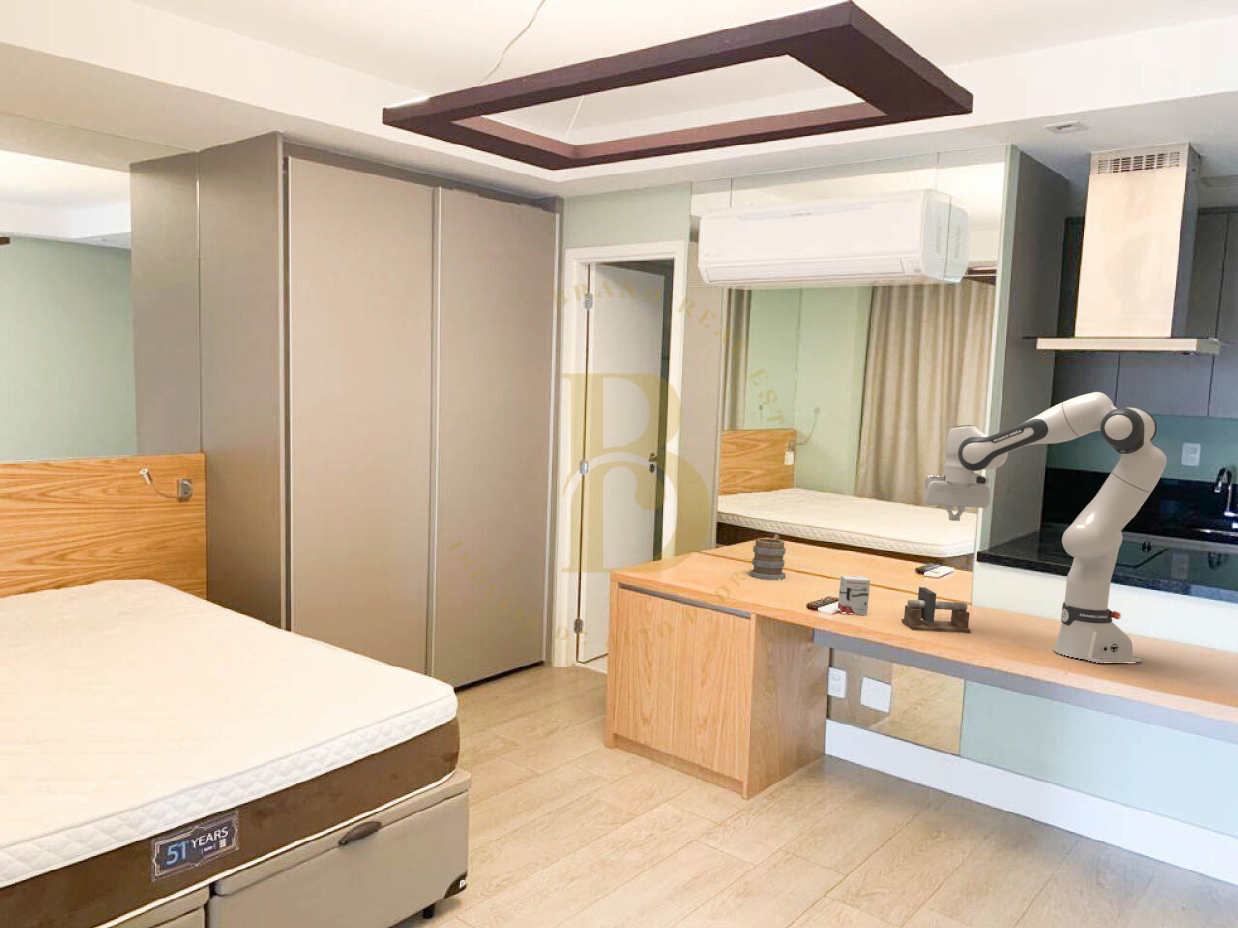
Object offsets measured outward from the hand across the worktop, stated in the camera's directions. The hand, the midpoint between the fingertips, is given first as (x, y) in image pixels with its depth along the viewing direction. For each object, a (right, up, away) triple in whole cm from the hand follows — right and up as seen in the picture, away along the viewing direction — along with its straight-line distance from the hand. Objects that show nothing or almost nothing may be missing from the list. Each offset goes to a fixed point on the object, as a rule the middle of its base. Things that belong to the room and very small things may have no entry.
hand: (954, 520), depth 289 cm
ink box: (-29, -31, +10) cm, 44 cm away
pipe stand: (-7, -33, -3) cm, 34 cm away
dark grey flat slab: (-10, -30, -3) cm, 32 cm away
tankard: (-47, -25, +66) cm, 85 cm away
